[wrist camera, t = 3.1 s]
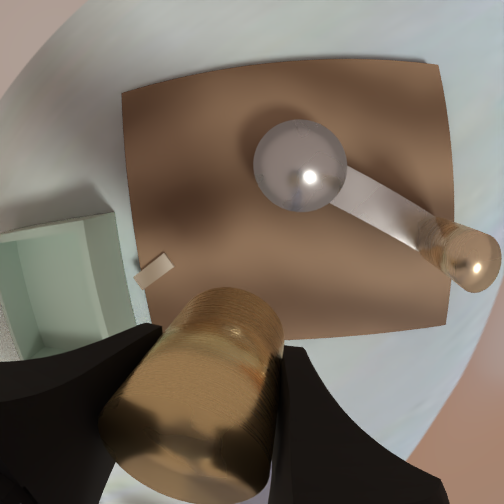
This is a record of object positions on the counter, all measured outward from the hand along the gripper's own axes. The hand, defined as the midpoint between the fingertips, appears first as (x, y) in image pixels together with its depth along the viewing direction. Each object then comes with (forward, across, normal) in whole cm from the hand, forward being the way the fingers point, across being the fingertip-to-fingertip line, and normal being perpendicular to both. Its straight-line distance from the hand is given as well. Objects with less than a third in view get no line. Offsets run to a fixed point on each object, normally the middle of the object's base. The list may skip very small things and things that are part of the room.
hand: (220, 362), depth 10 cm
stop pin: (+2, 0, 0) cm, 2 cm away
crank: (+8, -5, -5) cm, 11 cm away
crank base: (+9, -2, -4) cm, 11 cm away
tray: (+9, +14, +4) cm, 17 cm away
